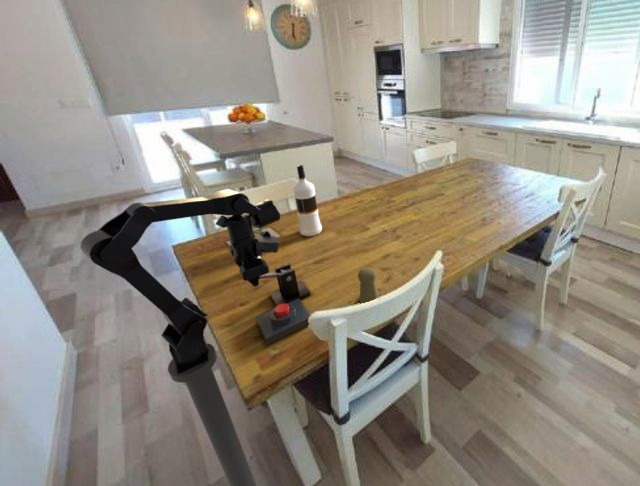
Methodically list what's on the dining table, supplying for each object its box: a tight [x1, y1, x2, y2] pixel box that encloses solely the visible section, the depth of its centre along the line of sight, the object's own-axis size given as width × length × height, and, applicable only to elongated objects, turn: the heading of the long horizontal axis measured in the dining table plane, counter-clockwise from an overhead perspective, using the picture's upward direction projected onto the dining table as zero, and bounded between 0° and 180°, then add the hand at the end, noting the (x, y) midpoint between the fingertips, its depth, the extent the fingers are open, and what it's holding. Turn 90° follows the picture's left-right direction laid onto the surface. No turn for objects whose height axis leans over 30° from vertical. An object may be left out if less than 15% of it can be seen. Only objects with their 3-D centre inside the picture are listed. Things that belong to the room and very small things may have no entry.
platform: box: [225, 226, 281, 247], centre depth 133 cm, size 12×18×7 cm, turn 136°
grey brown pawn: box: [357, 266, 380, 305], centre depth 95 cm, size 6×6×11 cm
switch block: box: [255, 299, 311, 345], centre depth 88 cm, size 12×10×4 cm
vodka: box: [292, 164, 323, 237], centre depth 133 cm, size 9×9×30 cm
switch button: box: [274, 304, 290, 317], centre depth 87 cm, size 4×4×2 cm
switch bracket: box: [269, 263, 311, 307], centre depth 98 cm, size 10×8×10 cm
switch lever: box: [259, 269, 290, 280], centre depth 94 cm, size 12×3×3 cm, turn 129°
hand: (254, 283), depth 92 cm, fingers closed on switch lever, 3 cm apart
